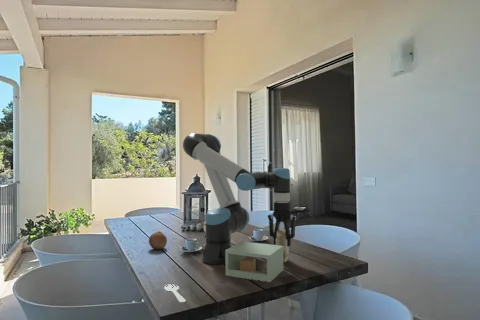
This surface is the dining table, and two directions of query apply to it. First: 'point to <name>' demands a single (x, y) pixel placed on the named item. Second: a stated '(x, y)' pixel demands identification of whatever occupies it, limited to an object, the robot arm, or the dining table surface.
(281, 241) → the tan tall part
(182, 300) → the white fork
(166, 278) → the dining table surface
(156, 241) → the onion
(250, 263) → the cube
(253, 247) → the cubby
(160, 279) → the dining table surface
